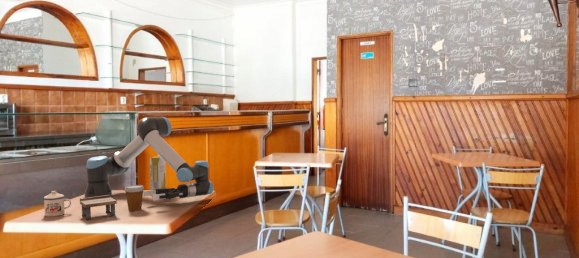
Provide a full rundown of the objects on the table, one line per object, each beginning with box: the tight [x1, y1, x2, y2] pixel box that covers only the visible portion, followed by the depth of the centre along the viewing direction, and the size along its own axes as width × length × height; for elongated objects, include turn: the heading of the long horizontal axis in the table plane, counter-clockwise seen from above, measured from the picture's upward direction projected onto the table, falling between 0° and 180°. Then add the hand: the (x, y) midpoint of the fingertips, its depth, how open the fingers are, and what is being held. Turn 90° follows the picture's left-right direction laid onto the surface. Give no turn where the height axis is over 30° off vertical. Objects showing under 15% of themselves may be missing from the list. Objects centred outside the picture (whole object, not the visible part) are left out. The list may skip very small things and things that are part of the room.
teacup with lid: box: [43, 190, 72, 217], centre depth 214 cm, size 12×9×12 cm
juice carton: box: [149, 154, 167, 192], centre depth 262 cm, size 9×8×24 cm
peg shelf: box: [79, 195, 118, 221], centre depth 210 cm, size 12×14×8 cm
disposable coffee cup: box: [124, 184, 145, 212], centre depth 222 cm, size 10×10×12 cm
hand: (147, 195), depth 226 cm, fingers open, 13 cm apart
